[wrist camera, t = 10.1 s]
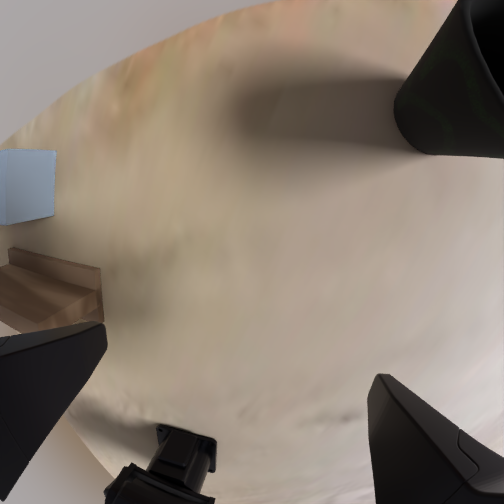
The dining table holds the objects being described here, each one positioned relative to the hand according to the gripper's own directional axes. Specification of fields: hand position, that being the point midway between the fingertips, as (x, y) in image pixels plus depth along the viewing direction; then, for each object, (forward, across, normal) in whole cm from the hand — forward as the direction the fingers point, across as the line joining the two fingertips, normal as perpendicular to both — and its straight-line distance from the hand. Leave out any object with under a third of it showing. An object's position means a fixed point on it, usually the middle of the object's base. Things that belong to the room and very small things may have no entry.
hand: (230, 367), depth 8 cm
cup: (+12, -10, -12) cm, 20 cm away
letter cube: (+12, +23, -4) cm, 26 cm away
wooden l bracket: (+12, +21, +5) cm, 25 cm away
